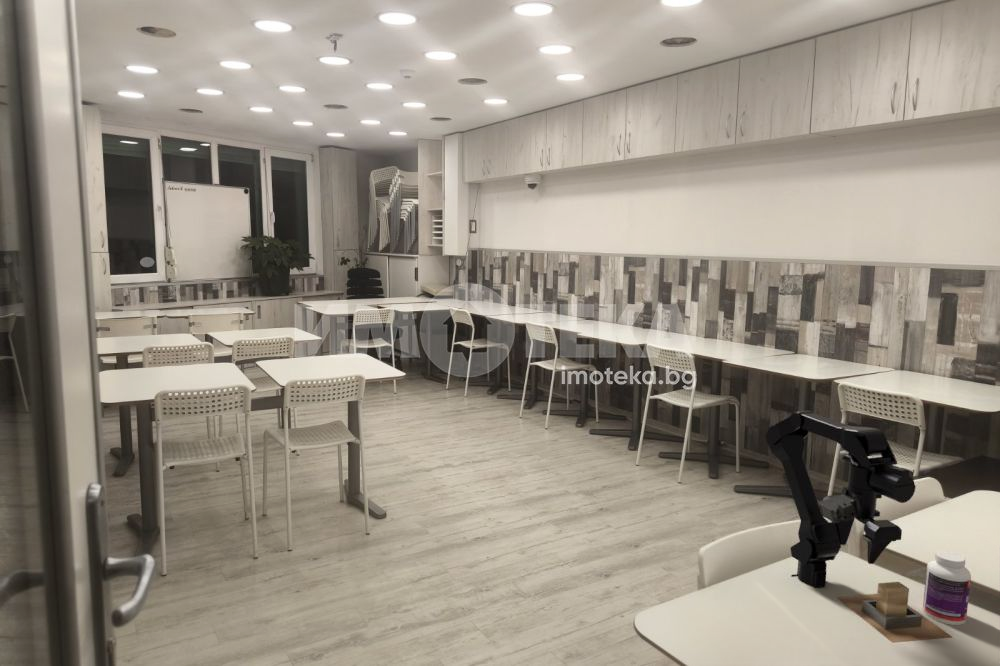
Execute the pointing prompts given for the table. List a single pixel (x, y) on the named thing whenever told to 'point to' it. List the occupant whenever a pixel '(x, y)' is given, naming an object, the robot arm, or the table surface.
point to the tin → (893, 622)
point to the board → (895, 635)
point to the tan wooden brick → (892, 599)
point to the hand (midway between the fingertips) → (856, 553)
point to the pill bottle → (947, 588)
